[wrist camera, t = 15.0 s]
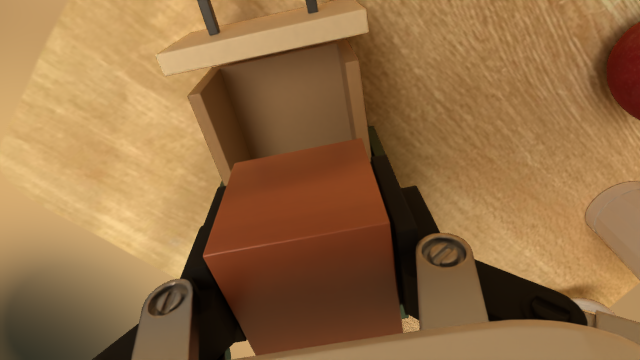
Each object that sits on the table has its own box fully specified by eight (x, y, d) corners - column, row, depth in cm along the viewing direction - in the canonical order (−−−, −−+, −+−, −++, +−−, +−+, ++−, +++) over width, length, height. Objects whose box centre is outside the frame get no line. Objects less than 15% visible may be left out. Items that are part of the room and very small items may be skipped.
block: (234, 162, 12) (201, 255, 8) (362, 137, 11) (390, 221, 8) (269, 254, 14) (257, 359, 10) (376, 235, 14) (403, 337, 10)
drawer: (145, -87, 20) (84, -105, 15) (334, -134, 20) (346, -173, 14) (248, 189, 31) (235, 240, 25) (372, 165, 30) (389, 213, 25)
